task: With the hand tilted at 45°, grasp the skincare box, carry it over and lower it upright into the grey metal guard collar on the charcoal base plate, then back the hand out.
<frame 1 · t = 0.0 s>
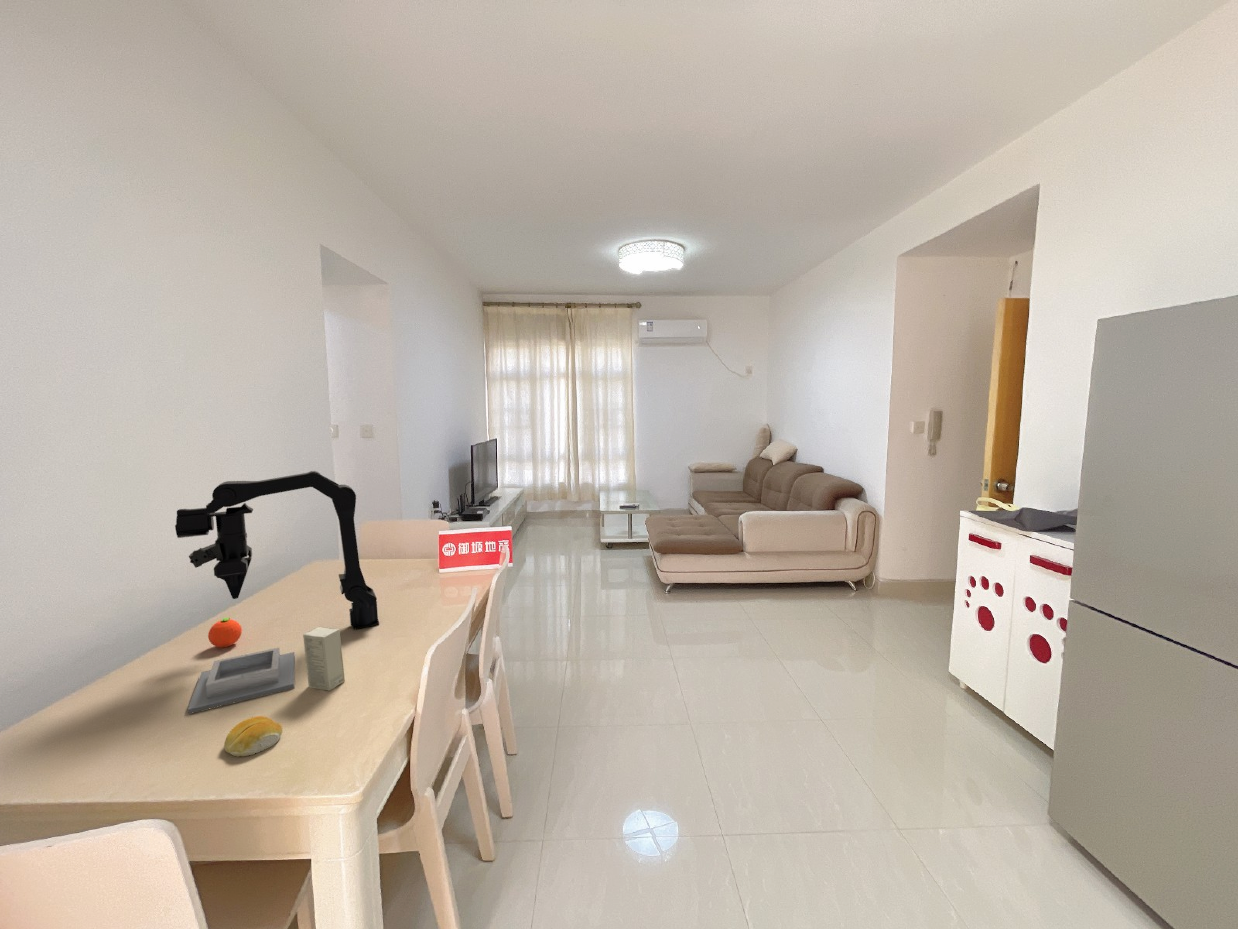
hand: (237, 593, 131), 15 cm above the table, tool pointing down, fingers open, 9 cm apart
clementine: (227, 646, 135), on the table
port collar: (245, 671, 116), on the port base, point 2 cm above the table
port base: (246, 682, 116), on the table
skincare box: (326, 685, 114), on the table
bread roll: (255, 744, 95), on the table
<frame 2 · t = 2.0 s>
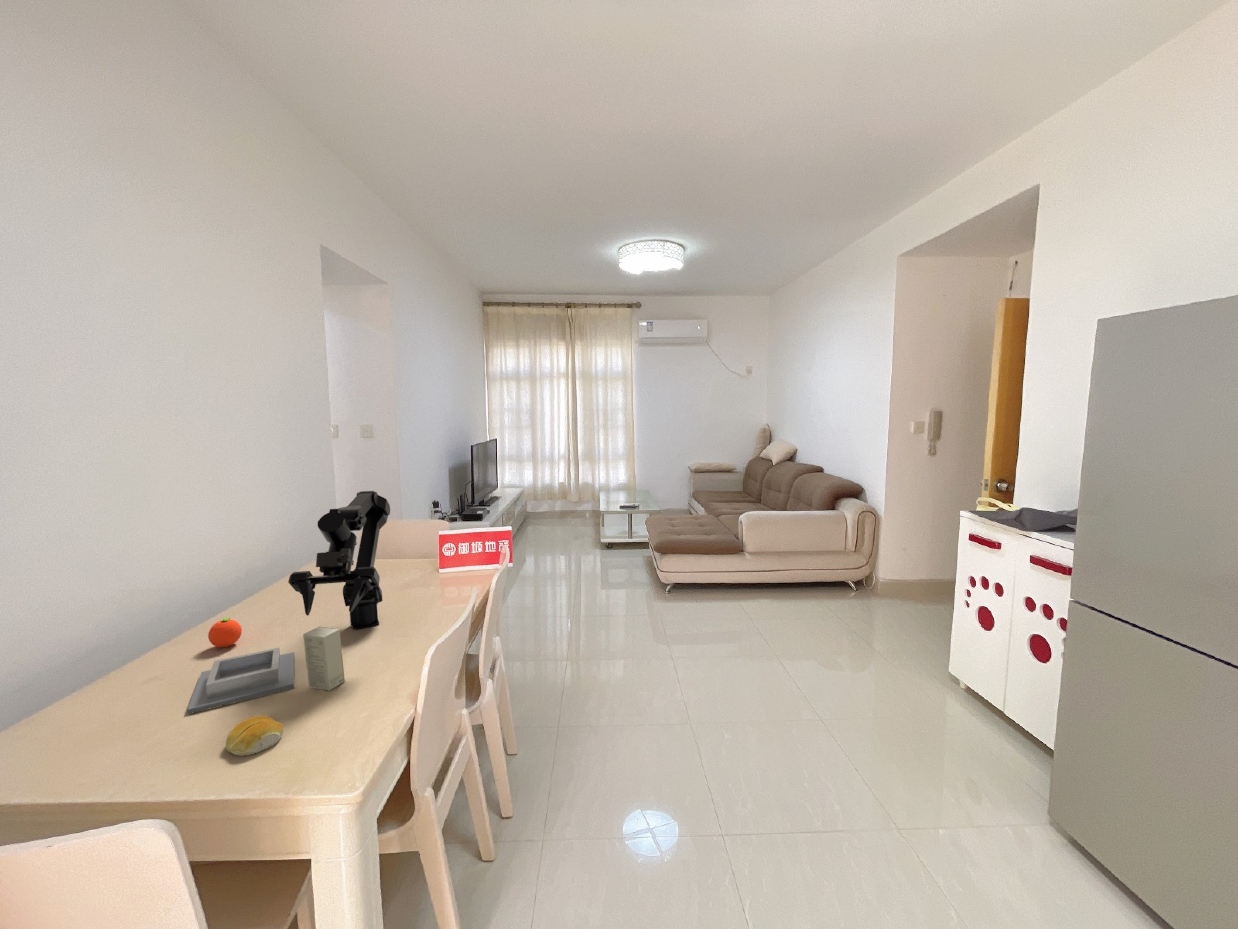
hand: (328, 613, 120), 13 cm above the table, tool tilted 45°, fingers open, 9 cm apart
nothing on the table moved.
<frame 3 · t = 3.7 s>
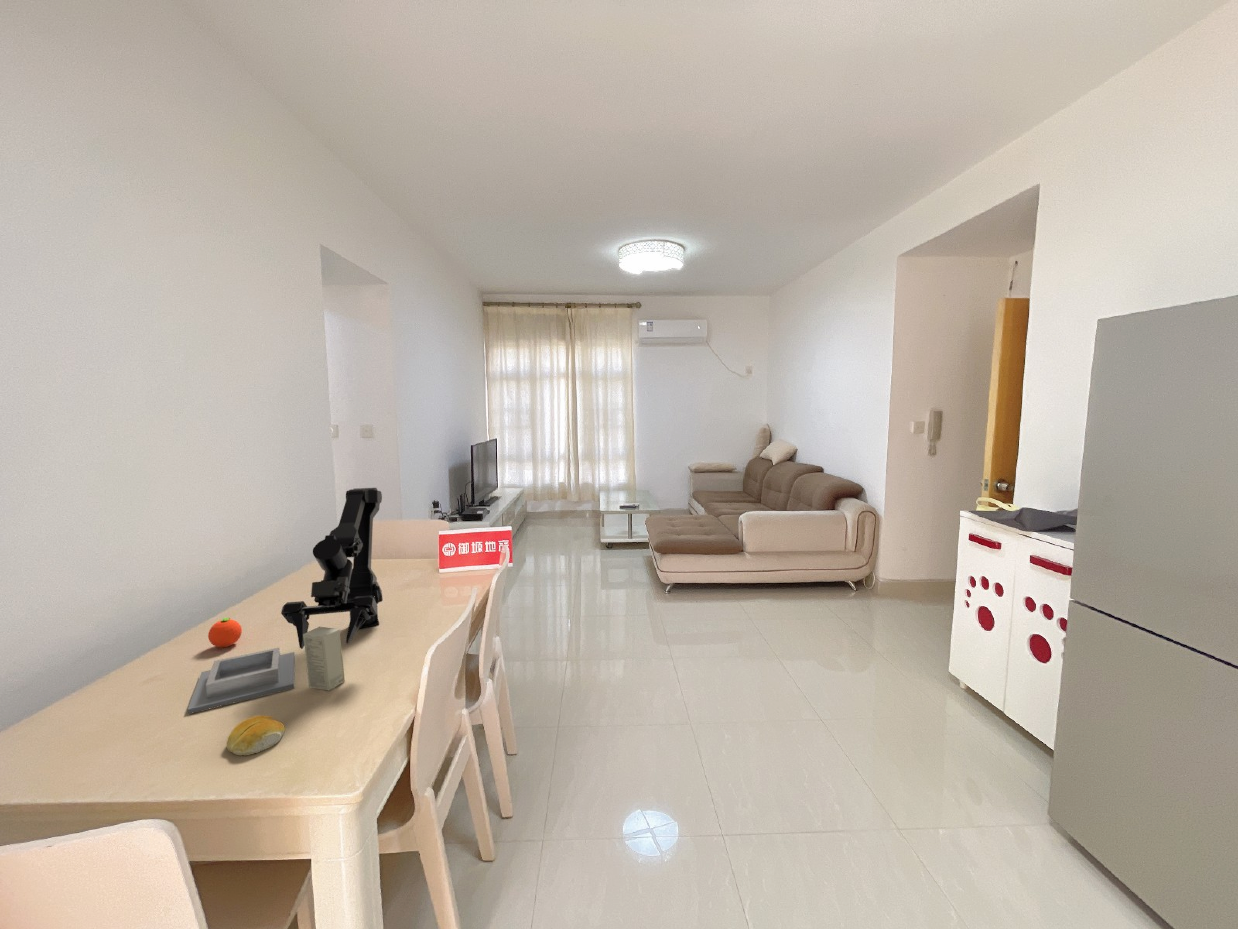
hand: (324, 645, 114), 9 cm above the table, tool tilted 45°, fingers open, 9 cm apart
nothing on the table moved.
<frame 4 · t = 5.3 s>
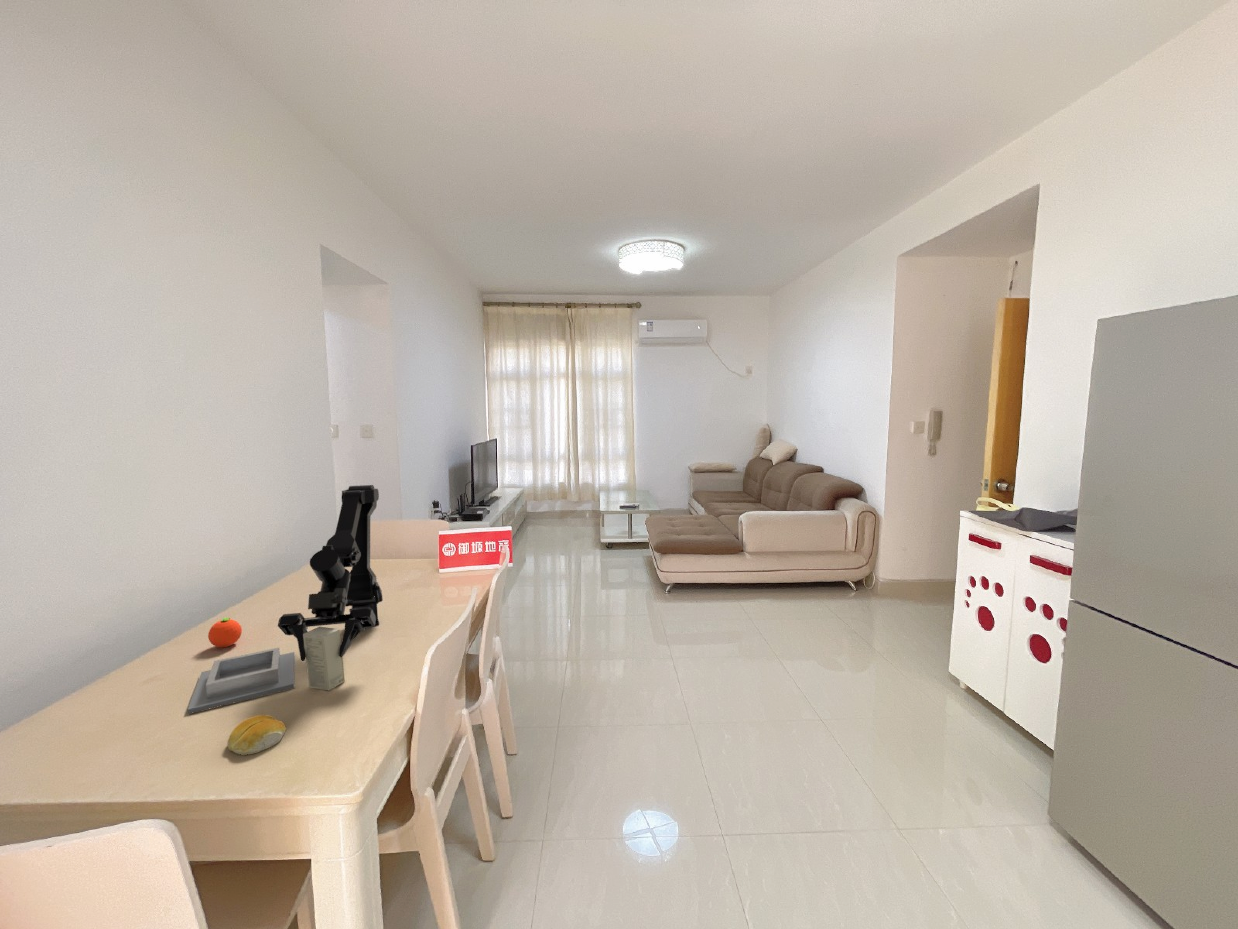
hand: (321, 658, 112), 7 cm above the table, tool tilted 45°, fingers closed on skincare box, 7 cm apart
skincare box: (326, 685, 114), on the table, touching gripper
everything else where it was.
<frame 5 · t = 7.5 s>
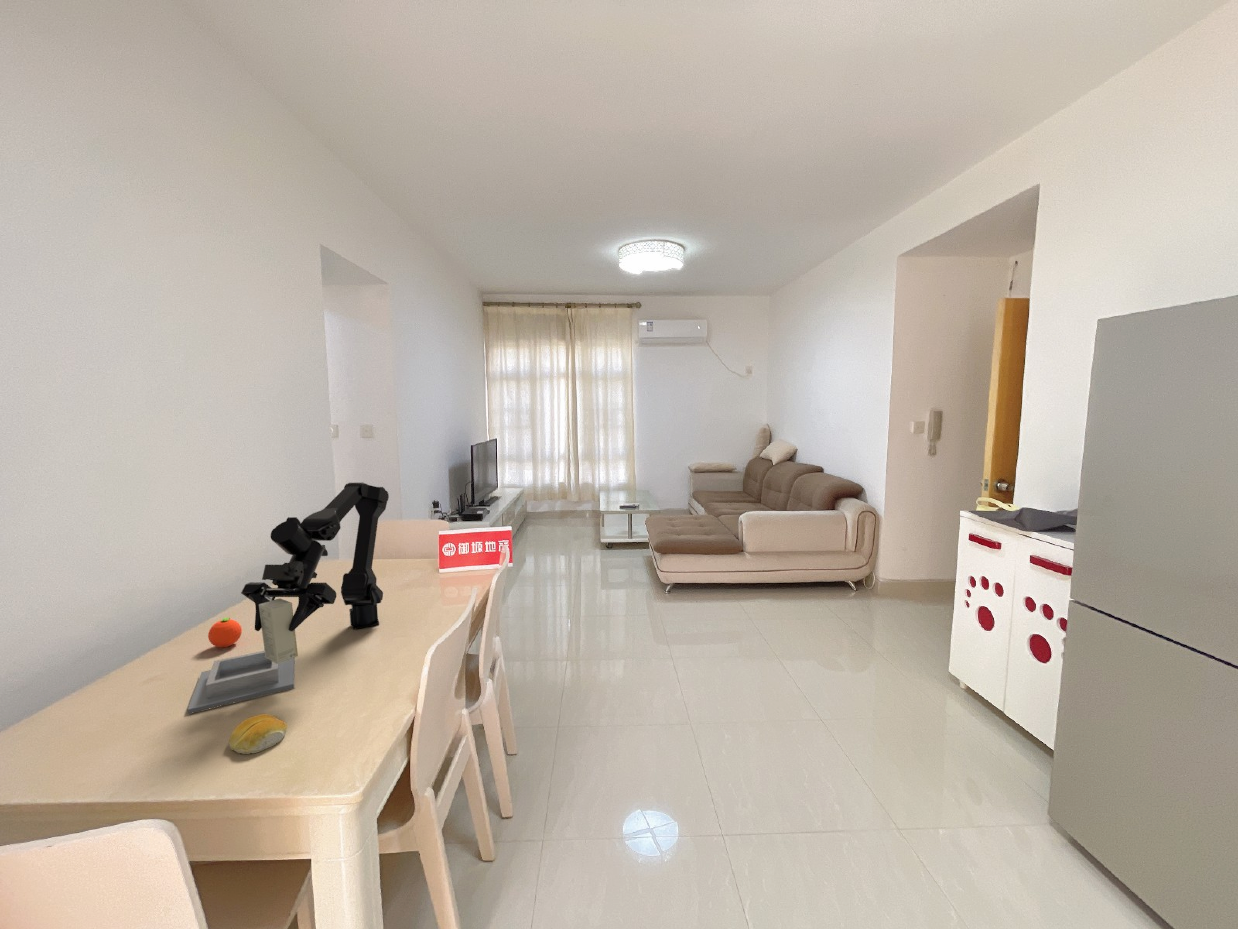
hand: (273, 630, 111), 13 cm above the table, tool tilted 45°, fingers closed on skincare box, 7 cm apart
skincare box: (280, 658, 113), point 6 cm above the table, touching gripper
everything else where it was.
when the fingers open (9 cm above the table, at t = 10.2 s): skincare box drops 1 cm, resting on port base.
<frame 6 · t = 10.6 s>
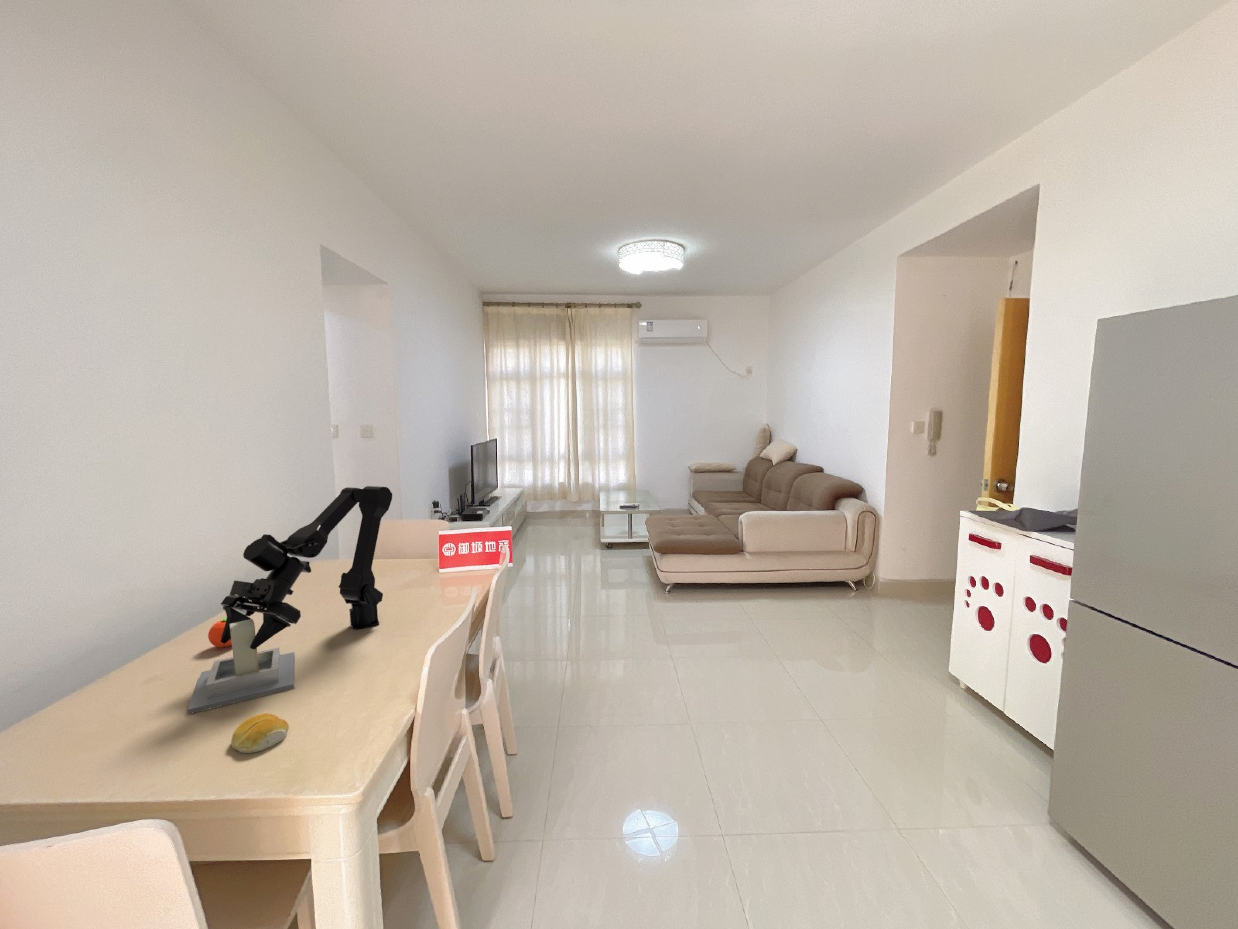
hand: (236, 645, 114), 9 cm above the table, tool tilted 45°, fingers open, 9 cm apart
skincare box: (247, 678, 116), point 1 cm above the table, touching port base
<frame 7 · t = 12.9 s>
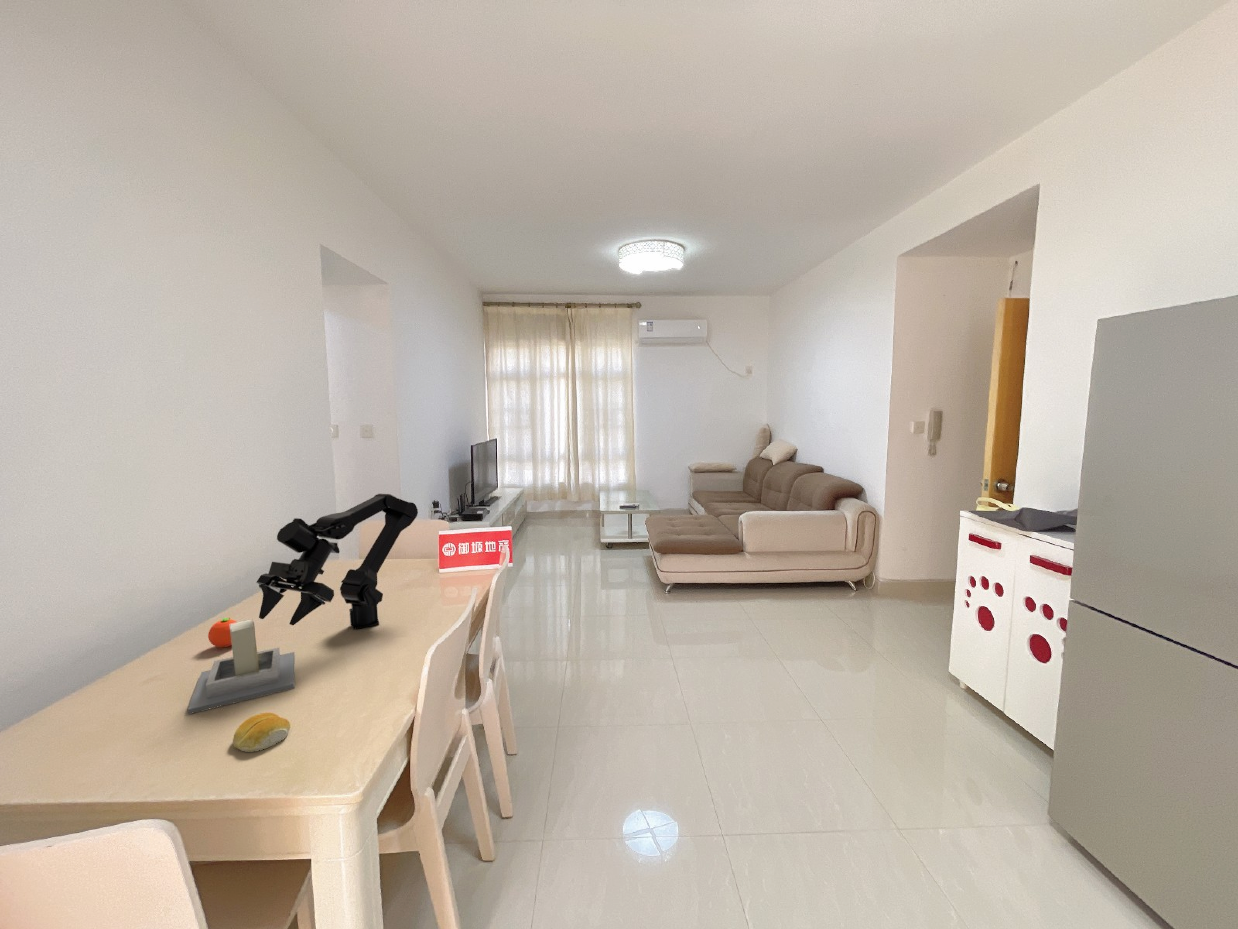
hand: (275, 621, 123), 11 cm above the table, tool tilted 40°, fingers open, 9 cm apart
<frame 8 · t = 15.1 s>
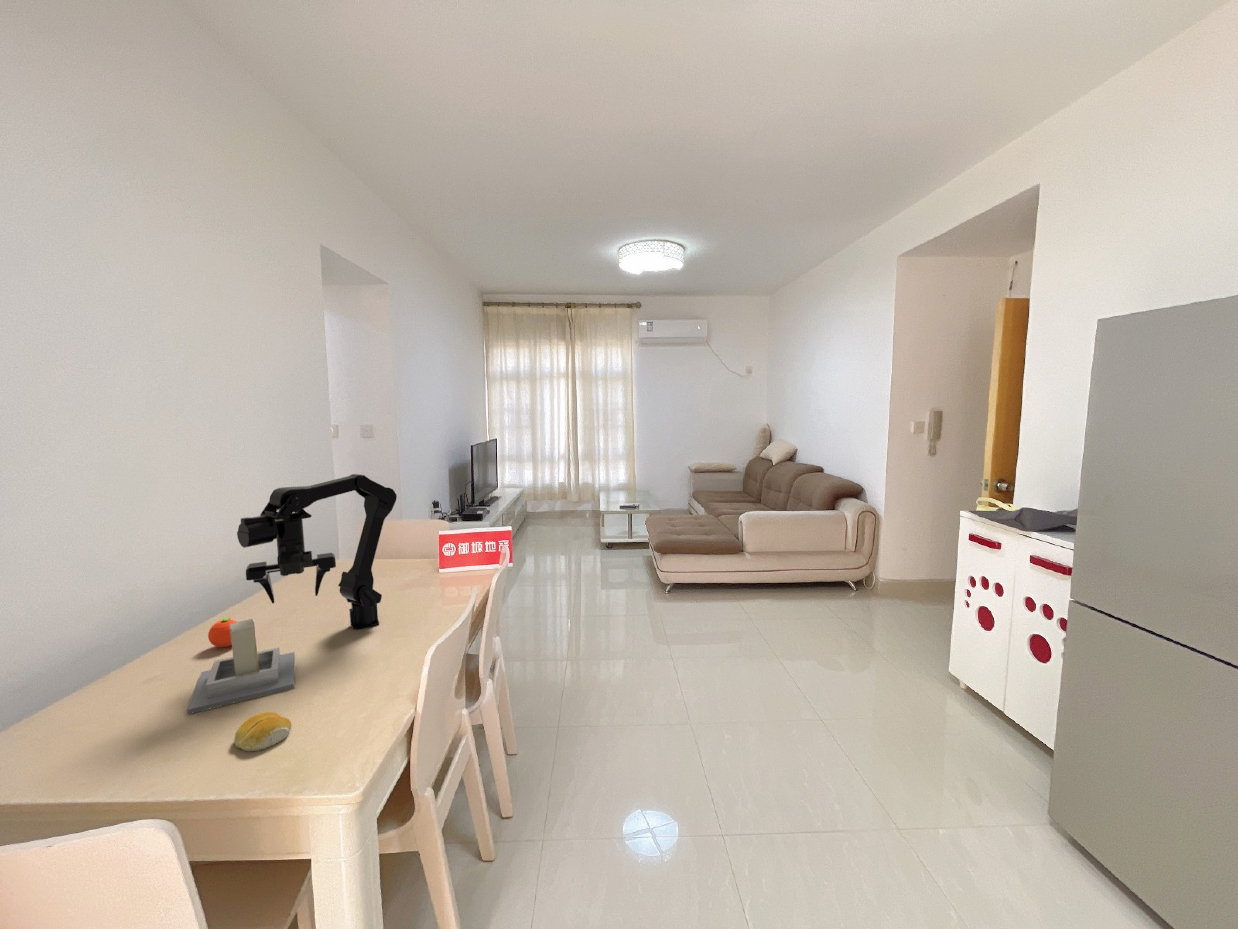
hand: (295, 599, 131), 13 cm above the table, tool pointing down, fingers open, 9 cm apart
at the end: skincare box 0.1 cm off-centre on the port base, point 0.8 cm above the port base's base; skincare box tilted 0°; the gripper is holding nothing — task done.
